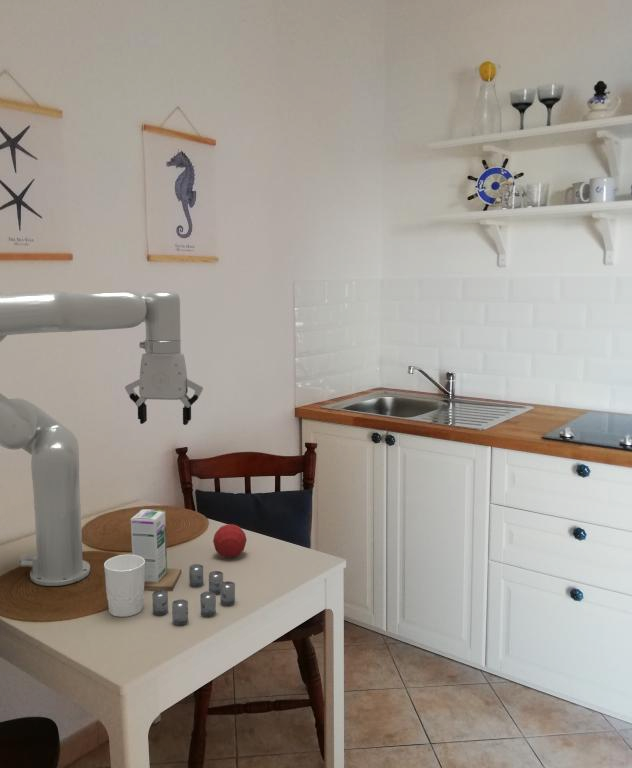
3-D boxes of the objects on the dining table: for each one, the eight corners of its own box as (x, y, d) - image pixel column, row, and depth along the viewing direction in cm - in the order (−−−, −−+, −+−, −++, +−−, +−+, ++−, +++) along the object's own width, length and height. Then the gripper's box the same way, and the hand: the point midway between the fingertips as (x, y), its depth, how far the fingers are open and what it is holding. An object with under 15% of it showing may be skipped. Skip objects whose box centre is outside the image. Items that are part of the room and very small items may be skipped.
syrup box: (157, 583, 152) (156, 519, 150) (131, 581, 153) (130, 517, 151) (167, 572, 158) (166, 510, 155) (142, 570, 159) (141, 508, 156)
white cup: (124, 622, 138) (123, 574, 136) (97, 611, 142) (95, 564, 140) (154, 606, 144) (153, 560, 143) (126, 596, 148) (125, 551, 147)
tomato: (232, 528, 164) (232, 511, 171) (205, 547, 165) (206, 529, 172) (253, 550, 167) (252, 533, 174) (227, 569, 168) (227, 550, 175)
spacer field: (146, 625, 137) (145, 605, 136) (169, 580, 156) (169, 563, 155) (227, 627, 137) (227, 608, 136) (240, 582, 156) (240, 565, 155)
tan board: (121, 589, 151) (120, 585, 151) (132, 571, 160) (132, 567, 160) (172, 591, 151) (172, 586, 151) (181, 572, 160) (181, 568, 160)
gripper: (119, 348, 154) (121, 426, 156) (199, 350, 153) (199, 427, 156) (129, 344, 161) (131, 418, 164) (205, 346, 161) (205, 420, 163)
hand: (164, 423), depth 160 cm, fingers open, 9 cm apart
